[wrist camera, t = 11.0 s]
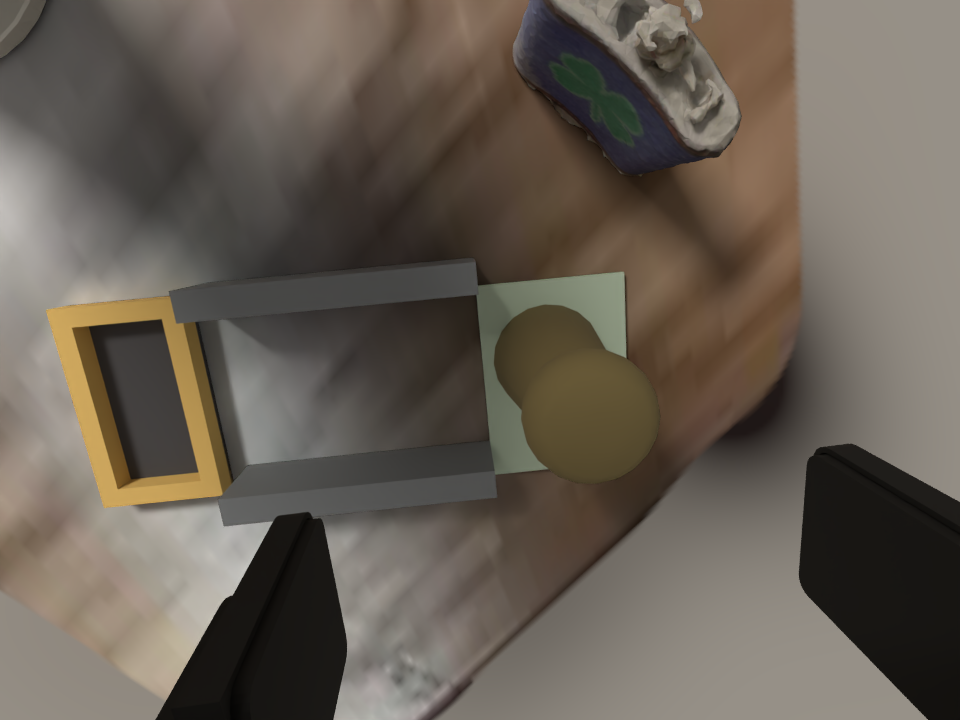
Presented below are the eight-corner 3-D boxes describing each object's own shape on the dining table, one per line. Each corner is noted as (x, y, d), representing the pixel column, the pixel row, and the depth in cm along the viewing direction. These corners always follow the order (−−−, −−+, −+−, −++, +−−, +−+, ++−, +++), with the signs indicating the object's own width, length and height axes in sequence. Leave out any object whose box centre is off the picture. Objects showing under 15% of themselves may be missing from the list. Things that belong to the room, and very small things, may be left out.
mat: (475, 285, 29) (475, 286, 28) (621, 271, 29) (624, 272, 28) (492, 471, 31) (493, 474, 31) (626, 457, 31) (628, 460, 31)
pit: (67, 305, 28) (45, 310, 26) (191, 293, 28) (177, 297, 26) (120, 494, 30) (104, 507, 29) (234, 482, 31) (223, 495, 29)
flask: (500, 60, 26) (532, -52, 16) (540, 10, 26) (600, -140, 15) (632, 189, 28) (739, 166, 17) (671, 144, 27) (806, 93, 17)
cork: (603, 404, 30) (685, 500, 19) (498, 415, 30) (521, 518, 19) (600, 299, 29) (686, 340, 18) (489, 309, 28) (509, 358, 18)
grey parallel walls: (208, 282, 28) (168, 291, 24) (472, 257, 28) (475, 262, 24) (253, 488, 31) (223, 526, 27) (491, 464, 31) (497, 497, 27)
